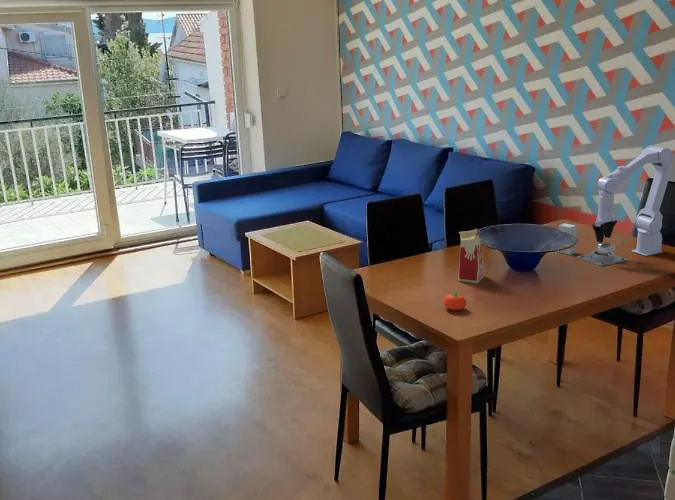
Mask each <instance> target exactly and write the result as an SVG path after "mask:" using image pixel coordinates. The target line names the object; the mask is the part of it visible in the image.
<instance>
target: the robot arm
mask: <svg viewBox="0 0 675 500" xmlns="http://www.w3.org/2000/svg"><path fill="white" fill-rule="evenodd" d="M674 156H675V154H674V152H673V151H672V149H671V148H668V147H662V146H657V145H654V144H653V145H652V144H651V145H648V146H647V147H645V148H644V149H643V150H642V152H641V153H640V154H639V155H637V156H636V157H635V158H634V159H633V160H632V161H630V162H629V163H627V165H621V166H617V167H616V169H615V170H614V171H612V172H611V173H608V174H607V176H602V177H600V178H599V179H598V181H597V183H596V184H595V185H596V190H597V191H598V209H597V217H596V221H595V220H594V223H593V224H592V229H593V230H594V233H595V239H596V242H597V243H599V242H604V239H605V238H608V239H611V237H612V234H613V231H614V228H615V226H616V225H617V223H618V220H617V219H616V217H615V216H616V214H614V206H615V194H616V192H617V191H618V190H619V187H620V186H621V185H622V184H623V183H625V182H626V181H627V180H629V179H630V178H631V177H632V173H634V172H636V171H637V170H638V169H640V168H642V167H643V166H645V165H647V164H651V165H653V167H654V169H655V174H654V177H653V179H652V182H651V183H652V184H651V186H650V191H649V194H648V196H647V200H646V201H645V206H644V207H643V208H641V209H640V210H639V211H638V214H637V216H636V217H635V219H634V226H635V228H636V231H637V238H636V240H637V241H636V247H635V249H631V252H633V253H636V254H640V255H642V256H646V257H647V256H652V255H657V254H661V253H663V250H662V243H663V236H662V233H661V229H662V227H663V217H664V216H663V214H662V213H661V211H660V208H661V206H662V202H663V199H664V196H665V192H666V188H667V186H668V182H669V179H670V175H671V173H672V169H673V161H674Z"/></svg>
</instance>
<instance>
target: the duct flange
mask: <svg viewBox="0 0 675 500" xmlns="http://www.w3.org/2000/svg"><path fill="white" fill-rule="evenodd" d="M576 258H577V259H581V260H583V261H586V262H589V263H592V264H595V265H597V266H600V267H605V266H610V265H615V264H619V263H623V262H628V261H629V259H628V258H626V257H622V256H620V255H617V254H615V252H610V255H607V256H602V255H597V249H595V250H591V252H590V253H585V254H581V255H576Z"/></svg>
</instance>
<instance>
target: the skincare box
mask: <svg viewBox="0 0 675 500" xmlns="http://www.w3.org/2000/svg"><path fill="white" fill-rule="evenodd" d="M559 230H560V231H562V232H567V233H569V234H571V235H573V236H575V237H576V238H577V225H575V224H570V223H566V222H565V223H561V224H559V225H558V231H559ZM559 253H560V254H566V255H570V256H571V255H574V254H576V253H577V244H576V245H575V246H574V247H572V248H570V249H568V250H565V251H560V252H559Z"/></svg>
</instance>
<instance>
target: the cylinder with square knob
mask: <svg viewBox="0 0 675 500" xmlns="http://www.w3.org/2000/svg"><path fill="white" fill-rule="evenodd" d="M596 250H597V255H602V256H607V255H610V252H613V253H615V252H616V245H611V243H610V242H607V241H606V242H605V241H603V242H597V248H596Z"/></svg>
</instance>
